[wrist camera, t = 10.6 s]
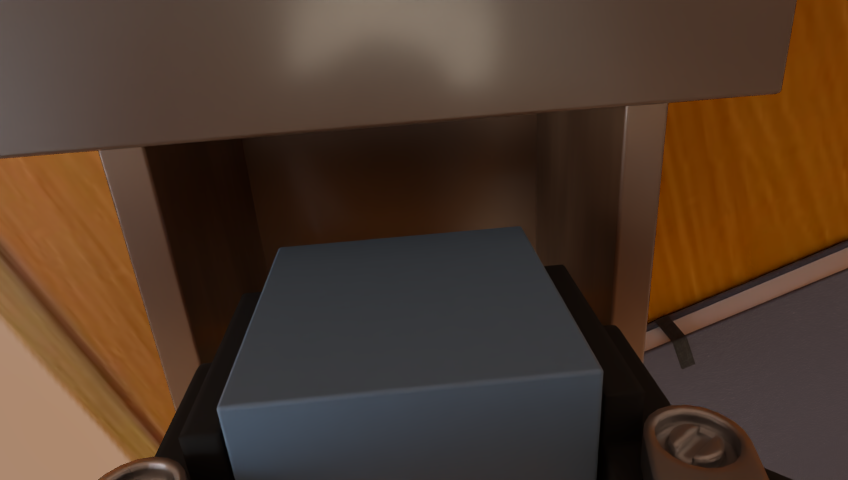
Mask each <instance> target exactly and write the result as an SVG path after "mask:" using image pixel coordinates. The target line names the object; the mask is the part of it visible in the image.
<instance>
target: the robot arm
mask: <svg viewBox="0 0 848 480" xmlns="http://www.w3.org/2000/svg"><path fill="white" fill-rule="evenodd" d="M544 267H545V269H546V271H547V273H548V274H549V276H550V278H551V280H552V281H553V283H554V285H555V287H556V289H557V290H558V292H559V294H560V296H561V297H562V299H563V301H564V303H565V304H566V306H567V308H568V310H569V311H570V313H571V315H572V317H573V318H574V320H575V322H576V324H577V325H578V327H579V329H580V331H581V332H582V334H583V336H584V338H585V339H586V341H587V343H588V345H589V346H590V348H591V350H592V352H593V353H594V355H595V357H596V359H597V360H598V362H599V364H600V366H601V367H602V369H603V386H602V402H601V417H600V433H599V448H598V463H597V479H596V480H793V479H790V478H788V477H785V476H783V475H780V474H778V473H776V472H773V471H771V470H768V469H766V468H764V467H763V465H762V462H761V460H760V458H759V456H758V454H757V451H756V449H755V447H754V445H753V443H752V441H751V439H750V438H749V436H748V435H747V433H746V432H745V431H744V430H743V429H742V428H741V427H740V426H739V425H737V424H736V423H735V422H734V421H733V420H731V419H729V418H727V417H725V416H724V415H722V414H720V413H718V412H715V411H712V410H709V409H706V408H703V407H698V406H691V405H671V404H670V402H669V401H668V399H667V398H666V396H665V395H664V393H663V392H662V390H661V389H660V388H659V386H658V385H657V383H656V382H655V380H654V379H653V377H652V376H651V374H650V373H649V371H648V370H647V368H646V367H645V366H644V364H643V363H642V361H641V360H640V358H639V357H638V355H637V354H636V352H635V351H634V349H633V348H632V347H631V345H630V344H629V342H628V341H627V339H626V338H625V336H624V335H623V333H622V332H621V330H620V329H619V328H618V327H617V326H616V325H604V326H603V325H602V324H601V322H600V321H599V319H598V317H597V316H596V314H595V313H594V311H593V310H592V308H591V306H590V305H589V303H588V302H587V300H586V299H585V297H584V296H583V294H582V292H581V291H580V289H579V288H578V286H577V285H576V283H575V282H574V280H573V278H572V277H571V275H570V274H569V272H568V271H567V269H566V267H565V266H564V265H563V264H561V265H550V266H544ZM261 293H262V292H254V293H244V294H243V295H242V297H241V299H240V301H239V303H238V306H237V308H236V310H235V312H234V315H233V317H232V319H231V321H230V323H229V326H228V328H227V330H226V332H225V335H224V337H223V339H222V341H221V344H220V346H219V348H218V350H217V352H216V355H215V357H214V359H213V361H212V363H203V364H201V365H199V367H198V368H197V370H196V372H195V374H194V376H193V378H192V380H191V382H190V384H189V386H188V388H187V390H186V393H185V395H184V397H183V399H182V401H181V403H180V405H179V407H178V409H177V411H176V413H175V416H174V418H173V420H172V422H171V424H170V426H169V428H168V430H167V432H166V434H165V436H164V438H163V441H162V443H161V445H160V447H159V449H158V451H157V453H156V455H155V457H149V458H143V459H137V460H135V461H132V462H129V463H126V464H123V465H121V466H119V467H117V468H115V469H114V470H112V471H110V472H108V473H107V474H105V475H104V476H102V477H101V478H100V479H98V480H235V477H234V474H233V470H232V466H231V462H230V458H229V455H228V451H227V447H226V443H225V439H224V436H223V432H222V428H221V424H220V420H219V417H218V413H217V406H218V403H219V400H220V398H221V395H222V393H223V390H224V388H225V385H226V382H227V380H228V377H229V375H230V372H231V370H232V367H233V364H234V362H235V359H236V357H237V354H238V352H239V349H240V347H241V344H242V341H243V339H244V336H245V334H246V331H247V329H248V326H249V323H250V321H251V318H252V316H253V313H254V311H255V308H256V305H257V303H258V300H259V298H260V295H261Z"/></svg>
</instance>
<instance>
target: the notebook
mask: <svg viewBox="0 0 848 480" xmlns="http://www.w3.org/2000/svg"><path fill="white" fill-rule="evenodd" d="M643 364H644V366H645V367H646V368H647V370H648V371H649V373H650V374H651V376H652V377H653V379H654V380H655V382H656V383H657V385H658V386H659V388H660V389H661V390H662V392H663V393H664V395H665V396H666V398H667V399H668V401H669V402H670V404H671V405H691V406H698V407H703V408H706V409H709V410H712V411H715V412H718V413H720V414H722V415H724V416H725V417H727V418H729V419H731V420H733V421H734V422H735V423H736V424H737V425H739V426H740V427H741V428H742V429H743V430H744V431H745V432H746V433H747V435H748V436H749V438H750V439H751V441H752V443H753V445H754V447H755V449H756V451H757V454H758V456H759V458H760V460H761V462H762V465H763V467H764V468H766V469H768V470H771V471H773V472H776V473H778V474H780V475H783V476H785V477H788V478H790V479H793V480H848V240H847V241H845V242H842V243H840V244H837V245H835V246H833V247H830V248H828V249H826V250H823V251H821V252H818V253H816V254H814V255H811V256H809V257H806V258H804V259H802V260H799V261H797V262H795V263H792V264H790V265H787V266H785V267H783V268H780V269H778V270H776V271H773V272H771V273H768V274H766V275H764V276H761V277H759V278H756V279H754V280H752V281H749V282H747V283H745V284H742V285H740V286H737V287H735V288H733V289H730V290H728V291H725V292H723V293H721V294H718V295H716V296H714V297H711V298H709V299H706V300H704V301H702V302H699V303H697V304H695V305H692V306H690V307H687V308H685V309H683V310H680V311H678V312H675V313H673V314H671V315H667V316H664V317H662V318H659V319H657V320H655V321H654V322H652V323H649V324H647V329H646V339H645V350H644V360H643Z"/></svg>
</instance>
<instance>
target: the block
mask: <svg viewBox="0 0 848 480" xmlns="http://www.w3.org/2000/svg"><path fill="white" fill-rule="evenodd" d="M602 386H603V369H602V367H601V366H600V364H599V362H598V360H597V359H596V357H595V355H594V353H593V352H592V350H591V348H590V346H589V345H588V343H587V341H586V339H585V338H584V336H583V334H582V332H581V331H580V329H579V327H578V325H577V324H576V322H575V320H574V318H573V317H572V315H571V313H570V311H569V310H568V308H567V306H566V304H565V303H564V301H563V299H562V297H561V296H560V294H559V292H558V290H557V289H556V287H555V285H554V283H553V281H552V280H551V278H550V276H549V274H548V273H547V271H546V269H545V267H544V266H543V264H542V262H541V260H540V259H539V257H538V255H537V253H536V252H535V250H534V248H533V246H532V245H531V243H530V241H529V239H528V238H527V236H526V234H525V232H524V231H523V229H522V227H520V226H515V227H504V228H493V229H481V230H470V231H459V232H448V233H437V234H425V235H414V236H403V237H392V238H380V239H369V240H358V241H347V242H336V243H324V244H313V245H302V246H291V247H281V248H279V249H278V252H277V254H276V257H275V259H274V262H273V264H272V267H271V269H270V272H269V275H268V277H267V280H266V282H265V285H264V287H263V290H262V293H261V295H260V298H259V300H258V303H257V305H256V308H255V311H254V313H253V316H252V318H251V321H250V323H249V326H248V329H247V331H246V334H245V336H244V339H243V341H242V344H241V347H240V349H239V352H238V354H237V357H236V359H235V362H234V364H233V367H232V370H231V372H230V375H229V377H228V380H227V382H226V385H225V388H224V390H223V393H222V395H221V398H220V400H219V403H218V406H217V413H218V417H219V420H220V424H221V428H222V432H223V436H224V439H225V443H226V447H227V451H228V455H229V458H230V462H231V466H232V470H233V474H234V477H235V480H596V479H597V463H598V448H599V433H600V417H601V402H602Z"/></svg>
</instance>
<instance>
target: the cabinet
mask: <svg viewBox="0 0 848 480" xmlns="http://www.w3.org/2000/svg"><path fill="white" fill-rule="evenodd" d="M796 2H797V0H0V159H3V158H15V157H27V156H39V155H51V154H63V153H75V152H87V151H99V150H111V149H122V148H134V147H146V146H158V145H170V144H182V143H194V142H206V141H218V140H230V139H242V138H254V137H266V136H278V135H290V134H302V133H314V132H326V131H338V130H350V129H362V128H374V127H386V126H398V125H410V124H422V123H434V122H446V121H457V120H469V119H481V118H493V117H505V116H517V115H529V114H541V113H553V112H565V111H577V110H589V109H601V108H613V107H625V106H637V105H649V104H661V103H673V102H685V101H697V100H709V99H721V98H733V97H745V96H757V95H769V94H777V93H779V92H780V91H781V89H782V84H783V78H784V72H785V66H786V60H787V54H788V48H789V43H790V37H791V31H792V25H793V19H794V13H795V7H796Z"/></svg>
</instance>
